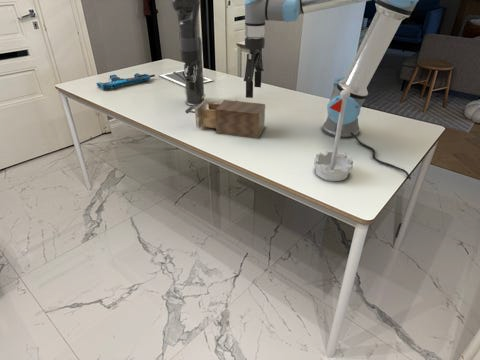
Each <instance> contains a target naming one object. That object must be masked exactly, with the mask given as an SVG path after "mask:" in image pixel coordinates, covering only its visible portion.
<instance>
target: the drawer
mask: <svg viewBox="0 0 480 360" xmlns="http://www.w3.org/2000/svg"><path fill="white" fill-rule="evenodd" d="M220 104H221V103H217V102H208V107H207V100H205V101H203V102H202V103H201V104H200V105H198V106H191V105H189V107H188V108H186V109H185V111H184V112H185V114H189V113H191V114H194V115H195V127H196V129H199V128H200V127H204V128H211V129H216V111H215V109H216V108H217V107H218V106H219V105H220Z"/></svg>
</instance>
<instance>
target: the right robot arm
mask: <svg viewBox="0 0 480 360" xmlns="http://www.w3.org/2000/svg"><path fill="white" fill-rule="evenodd" d="M369 1H371V0H244V27H243V30H244V48H245V49H247V50H249V52H248V53H247V54H246V62H245V69H244V70H245V72H244V77H243V82H245V98H246V99H247V98H248V99H253V98H254V88H262V72H264V65H263V64H264V63H263V52H262V50H263V49H264V48H265V44H266V43H265V42H266V41H265V40H266V38H265V36H266V21H274V22H286V23H289V22H296V21H298V19H299V16H300V15H303V14H308V13H313V12H318V11H319V12H320V11H324V10H329V9H333V8H340V7H343V6H348V5H354V4H359V3H365V2H369ZM419 1H420V0H375V4H374V5H375V8H376V12H375V13H374V16H373V18H372V21H371V22H370V25H368V29H367V31H366V33H365V35H364V36H363V39H362V41H361V42H360V43H361V44H360V46H359V47H358V49H357V51H356V54H355V56H354V57H353V60H352V62H351V64H350V67H349V69H348V70H347V73H346V75H345V76H339V77H336V78H335V79H334V82H333V84H332V85H333V86H332V87H333V88H332V93H331V96H330V99H329V100H328V101H329V102H328V103H327V105H326V106H327V108H326V111H327V117H326V120H325V121H324V123H323V126H322V130H323V132H324V133H325V134H326V135H329V136H332V137H336V131H337V125H338V119H339V113H340V112H337V111H335V110H333V109H331V108H329V107H331V106H332V105H334V104H335V103H337V102H338V101H340V100H341V99H342V98H341V96H340V93H341V91H342V90H344V89H347V90H349V92H350V96H349V98H347V101H346V107H345V113H344V118H343V124H342V130H341V135H340V139H341V138H342V139H349V138H354V139H355V141H356V142H357V143H358V144H360V145H361V146H363V147H365V148H367V149H369V150H371V152H372V159H373V160H374V161H376V162H377V163H379V164H382V165H385V166H389V167H391V168H393V169H396V170H398V171H401V172H403V173H404V174H405V175H406V177H407V179H408V180H412V177H411V175H410V174H409V172H408V171H407V170H405V169H404V168H402V167H399V166H396V165H394V164H391V163H388V162H387V161H386V162H385V161H383V160H381V159H378V158H377V157H376V150H375V149H374V148H372V147H371V146H370V145H367V144H365V143H363V142H362V141H360V140H359V138H358V137H357V135H359V132H360V125H359V118H358V117H359V115H361V113H360V112H361V108H362V106H363V104H364V102H365V100H366V99H367V97H368V95H369V92H368V89H367V87H368V86H369V84H370V82H371V80H372V79H373V76H374V74H375V73H376V71H377V69H378V67H379V65H380V64H381V61H382V59H383V57H384V55H385V54H386V52H387V50H388V48H389V47H390V44H391V42H392V40H393V38H394V37H395V34H396V33H397V31H398V29H399V27H400V26H401V23H402V21H404V20H405V19H407V18H410V16H411V15H412V13H413V11H414V9H415V8H416V5H417V3H418V2H419ZM253 79H254V81H253ZM402 224H403V222H400V223H399V224H398V227H397V229H396V233H395V238H396V239H397V238H399V237H398V236H399V233H400V231H401V228H402Z"/></svg>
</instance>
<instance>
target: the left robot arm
mask: <svg viewBox="0 0 480 360" xmlns="http://www.w3.org/2000/svg"><path fill="white" fill-rule="evenodd" d="M171 7H172V9H173V12H175V13H176V20H177V21H176V22H177V37H178V50H179V53H180V60H181V61H182V62H183V63H184V64H183V70H184V72H183V76H184V77H185V79H184V78H183V77H181V76H180V75H178V74H177V73H175V72H176V71H172V72H173V73H175V74H176V75H178V76H179V77H181V78H182V79H183V80H184V81H185V86H186V87H185V96H186V97H185V98H186V104H187V105H188V106H193V107H197V106H198V105H200V104H201V103H202V102H203V101H206V99H205V98H206V93H205V83H204V82H203V77H204V71H203V69H204V68H203V45H202V42H203V41H202V37H201V36H200V35H199V34H198V18H199V17H198V16H199V11H200V7H201V0H171Z"/></svg>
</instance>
